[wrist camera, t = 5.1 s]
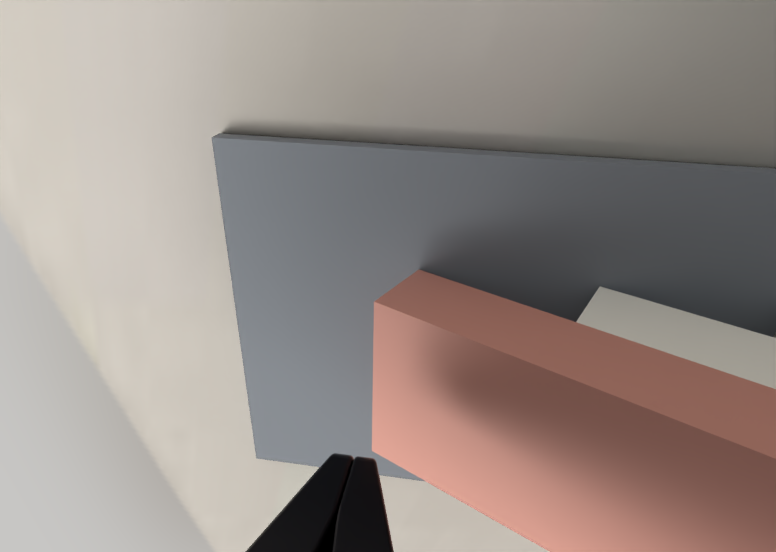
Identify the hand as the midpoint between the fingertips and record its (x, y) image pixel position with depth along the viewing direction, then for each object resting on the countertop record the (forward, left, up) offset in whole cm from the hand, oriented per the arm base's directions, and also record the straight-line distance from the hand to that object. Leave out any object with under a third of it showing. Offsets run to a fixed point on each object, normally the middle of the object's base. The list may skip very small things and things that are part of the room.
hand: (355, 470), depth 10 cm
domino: (0, 0, -3) cm, 3 cm away
